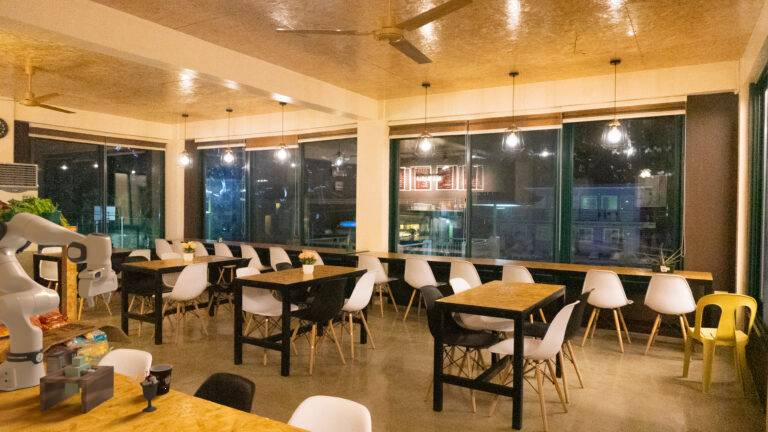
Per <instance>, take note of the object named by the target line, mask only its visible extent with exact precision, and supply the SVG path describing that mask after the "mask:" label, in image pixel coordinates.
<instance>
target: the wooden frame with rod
mask: <svg viewBox="0 0 768 432" xmlns="http://www.w3.org/2000/svg"><path fill="white" fill-rule="evenodd" d="M69 366H71V365H68V366H66V367H69ZM66 367H64V368H62V369H59V370H57V371H55V372H53V373H50V374H48V375H46V374H45V375H46V376H44V377H41V378H40V384H39V411H40V412H45V411H47V410H49V409H51V408H53V407H54V406H57V405H59V404H61V403H62V402H64V401H66V400H68V399H70V398H72V397H73V396H76V394H71V393H65V383H71V384H81V388H80V390H81V391H80V392H81V394H80V395H81V396H80V399H81V400H80V407H81V409H80V412H81V413H83V414H84V413H86V414H87V413H88V412H90V411H92V410H93V409H95V408H97V407H98V406H100V405H101V404H104V403H105V402H107V401H108V400H110V399H112V398H113V397H114V396H115V395H114V394H115V384H114V383H115V382H114V381H115V366H114V365H96V364H95V365H93V364H91V370H88V369H85V370H82V371H80V375H84V376H82V377H73V376H66ZM81 413H80V414H81Z"/></svg>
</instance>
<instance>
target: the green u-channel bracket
mask: <svg viewBox="0 0 768 432" xmlns="http://www.w3.org/2000/svg"><path fill="white" fill-rule="evenodd" d="M91 365H92V363H91V362H86V356H83V355H82V356H81V355H79V356H78V355H77V357H74V358H72V365H71V366H69V367H66V376H73V377H82V376H84V375H80V371H82V370H85V369H88V370H91ZM80 390H81V384H71V383H65V393H71V394H75V395H78V394H80V392H81V391H80Z"/></svg>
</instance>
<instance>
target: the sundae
mask: <svg viewBox="0 0 768 432" xmlns="http://www.w3.org/2000/svg"><path fill="white" fill-rule="evenodd" d="M145 373H146V375H145V377H144V379H143V380H142V382H139V385H140V386H141V390H142V396H143V398H144V399H145V400H146V401H147V406H146V407H143V408H142V410H141V411H142V413H151V412H156V410H157V409H158V408H157V407H156V406H155V405H154V406H153V405H152V401H153V400H154V399H155V398H156V396H157V395H156V390H157V384H158V383H159V380H158V378H159V377H158V376H157V375H155V376H154V375H152V374H150V372H149V371H148V370H147V371H145Z"/></svg>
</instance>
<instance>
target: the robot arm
mask: <svg viewBox="0 0 768 432" xmlns="http://www.w3.org/2000/svg"><path fill="white" fill-rule="evenodd" d="M32 243H33V244H36V245H40V246H57V245H59V246H67V247H66V251H65V253H66V257H67V259H68V260H69V261H70V262H71V264H72V263H73V264H85V263H86V268H84V269H83V270H82V271H80V272H79V273H78V279H79V281H78V295H79V297H80V298H84V299H86V302H87V303H88V308H93V307H95V306H96V305H95V304H96V302H95V301H94V300H93V299H94V297H95V296H98V295H102V294H104V295H105V296H104V298H103V299H102V300H103V303H104V304H108V303H110V299H111V295H112V292H114V291H117V289H118V288H119V287H118V276H117V274H116V271H115V270H114V269H112V260H111V256H112V253H113V252H112V249H113V248H112V240H111V237H110V236H109V234H107V233H104V232H91V233H89V234H88V235H86V234H83V233H80V232H78V231H75V230H73V229H69V228H67V227H64V226H61V225H60V224H57V223H54V222H52V221H51V220H48V219H46V218H44V217H42V216H40V215H37V214H33V213H29V212H18V213H16V214H15V215H14V216H13V217H12V218H11V219H10V221H7V222H4V220H0V292H2V293H5V294H3V295H1V296H0V322H1V323H2V324H3V325H4V326H5V327H6V329H7V331H8V335H9V344H10V345H9V346H10V347H9V349H10V350H9V351H8V352H5V353H4V357H6V359H5V360H4V361H3V362H1V364H0V391H5V392H10V391H15V390H19V389H26V388H31V387H32V388H33V387H34V386H38V385H39V386H40V378H41V377H44V376H46V371H45V368H44V367H45V366H44V356H45V349H44V347H43V339H44V338H43V330H42V328H41V327H39V326H38V325H34V324H32V322H31V319H30V318H31V317H34V316H39V315H45V314H48V313H49V312H53V311H55V310H56V309H57V308H58V307H59V305H60V300H61V299H60V296H59V293H58V292H57V291H56V290H55V289H52V288H49V287H45V286H44V285H41V284H39V283H38V282H36V281H35V280H34V279H32V277H30V276H29V275H28V273H26V270H24V267H22V264H20V262H19V260H18V259H17V257H16V255H18V254H22V253H23V252H24V251H25V250H26V249H28V248H29V247H30V246H31V244H32Z"/></svg>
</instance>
